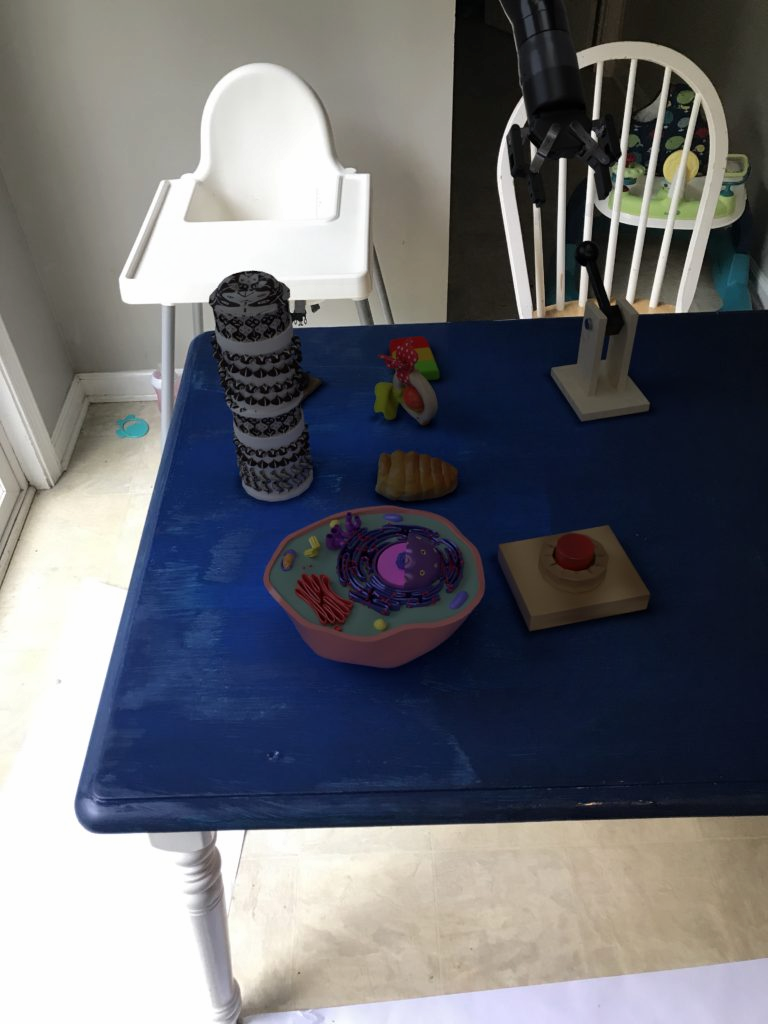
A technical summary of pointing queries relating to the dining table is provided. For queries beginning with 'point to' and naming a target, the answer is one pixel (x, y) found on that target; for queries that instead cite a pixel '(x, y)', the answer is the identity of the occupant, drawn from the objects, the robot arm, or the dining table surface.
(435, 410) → the bird rattle
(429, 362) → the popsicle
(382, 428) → the dining table surface
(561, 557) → the button
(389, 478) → the pastry
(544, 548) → the button block
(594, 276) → the lever
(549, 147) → the robot arm
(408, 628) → the cell model
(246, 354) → the decorative candle
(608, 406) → the bracket
